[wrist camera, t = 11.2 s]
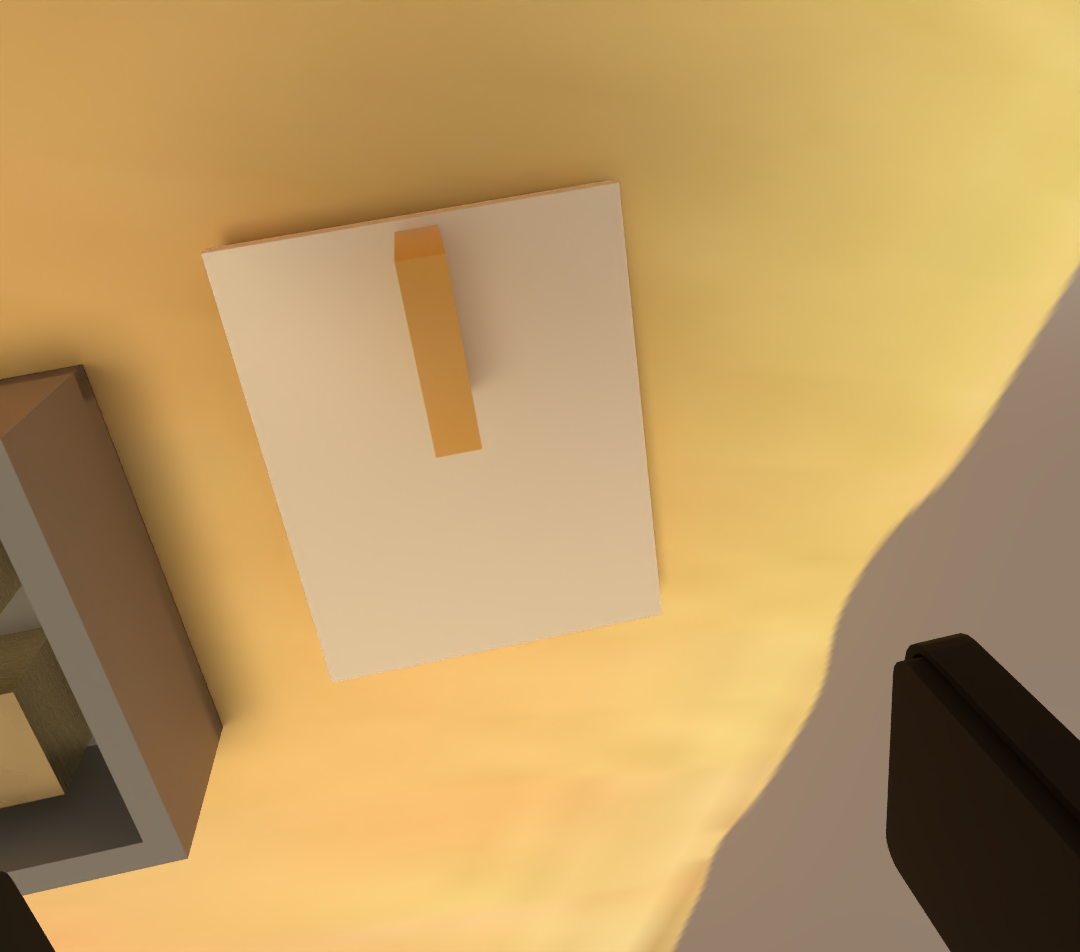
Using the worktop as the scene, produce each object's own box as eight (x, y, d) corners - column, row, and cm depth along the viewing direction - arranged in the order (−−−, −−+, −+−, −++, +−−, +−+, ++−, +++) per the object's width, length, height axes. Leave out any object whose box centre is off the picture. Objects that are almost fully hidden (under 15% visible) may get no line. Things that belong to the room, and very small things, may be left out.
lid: (213, 242, 25) (161, 288, 20) (605, 175, 26) (662, 202, 21) (335, 652, 32) (322, 775, 26) (648, 587, 32) (701, 693, 27)
